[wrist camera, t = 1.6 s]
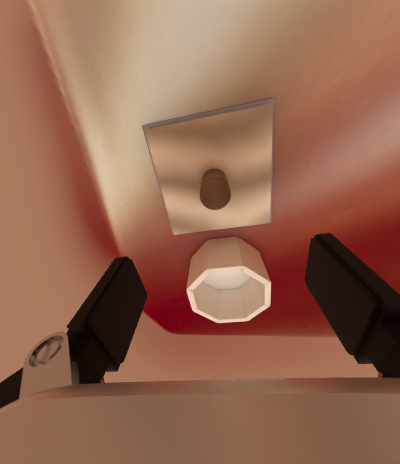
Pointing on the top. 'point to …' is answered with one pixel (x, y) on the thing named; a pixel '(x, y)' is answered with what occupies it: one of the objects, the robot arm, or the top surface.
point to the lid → (215, 169)
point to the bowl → (228, 281)
